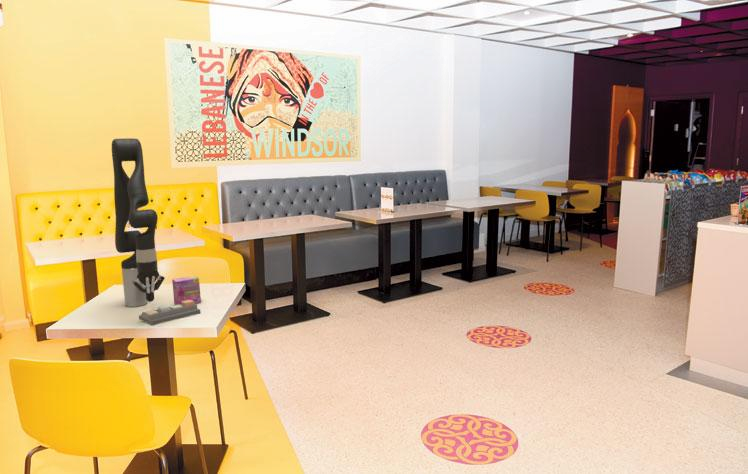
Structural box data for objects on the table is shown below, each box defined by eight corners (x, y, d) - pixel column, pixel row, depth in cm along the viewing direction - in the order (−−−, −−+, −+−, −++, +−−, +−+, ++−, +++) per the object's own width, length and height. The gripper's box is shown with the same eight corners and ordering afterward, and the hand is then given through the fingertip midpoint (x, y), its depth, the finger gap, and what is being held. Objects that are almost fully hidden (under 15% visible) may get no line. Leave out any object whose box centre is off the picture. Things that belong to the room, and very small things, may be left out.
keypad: (139, 318, 230) (138, 311, 229) (187, 307, 244) (186, 300, 244) (151, 325, 221) (150, 317, 221) (200, 313, 236) (199, 305, 235)
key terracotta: (181, 305, 237) (181, 301, 237) (189, 303, 240) (189, 299, 240) (185, 307, 235) (185, 303, 234) (194, 305, 237) (193, 301, 237)
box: (178, 307, 245) (175, 281, 243) (174, 304, 250) (171, 278, 248) (201, 303, 251) (199, 277, 249) (197, 300, 256) (195, 275, 254)
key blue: (157, 311, 230) (157, 306, 230) (166, 309, 233) (166, 304, 233) (161, 312, 228) (161, 308, 227) (170, 310, 230) (170, 306, 230)
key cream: (145, 316, 227) (144, 312, 227) (154, 314, 229) (154, 310, 229) (149, 318, 224) (148, 314, 224) (158, 316, 227) (158, 311, 227)
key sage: (170, 310, 234) (169, 306, 234) (178, 308, 237) (178, 304, 236) (174, 312, 231) (173, 308, 231) (182, 310, 234) (182, 306, 234)
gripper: (158, 255, 230) (162, 295, 233) (126, 260, 221) (130, 302, 224) (166, 258, 225) (170, 299, 228) (133, 263, 216) (137, 306, 219)
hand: (150, 301), depth 226 cm, fingers closed
